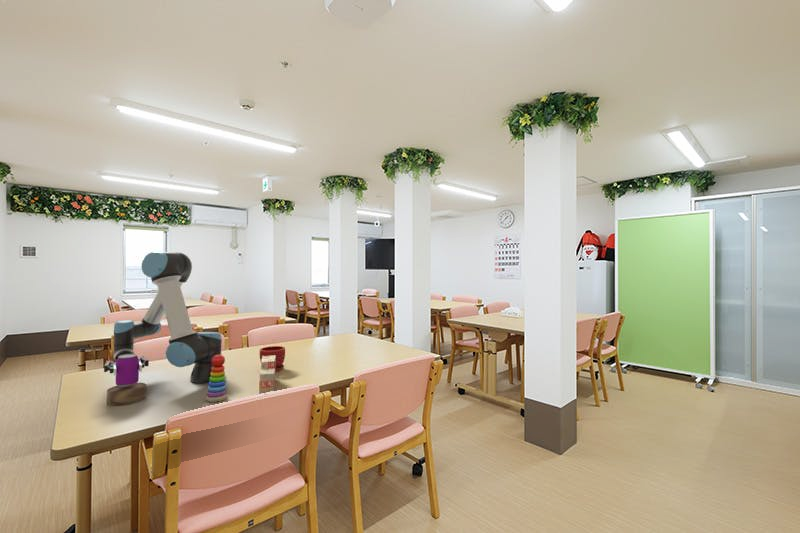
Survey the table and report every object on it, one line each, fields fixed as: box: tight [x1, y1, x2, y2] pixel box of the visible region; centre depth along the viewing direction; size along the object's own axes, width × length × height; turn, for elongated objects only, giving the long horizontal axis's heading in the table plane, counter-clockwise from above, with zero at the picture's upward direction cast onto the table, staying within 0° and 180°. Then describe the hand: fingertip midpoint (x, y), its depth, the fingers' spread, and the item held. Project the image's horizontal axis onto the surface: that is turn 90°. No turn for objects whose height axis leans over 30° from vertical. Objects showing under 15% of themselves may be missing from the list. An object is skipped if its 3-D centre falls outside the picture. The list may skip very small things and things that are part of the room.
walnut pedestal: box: [106, 382, 147, 407], centre depth 149 cm, size 13×13×5 cm
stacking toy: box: [205, 354, 228, 403], centre depth 151 cm, size 8×8×19 cm
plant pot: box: [259, 345, 286, 373], centre depth 193 cm, size 13×13×12 cm
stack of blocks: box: [258, 355, 277, 395], centre depth 167 cm, size 21×6×12 cm, turn 18°
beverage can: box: [115, 353, 140, 387], centre depth 149 cm, size 8×8×12 cm
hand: (128, 370), depth 145 cm, fingers closed on beverage can, 8 cm apart
